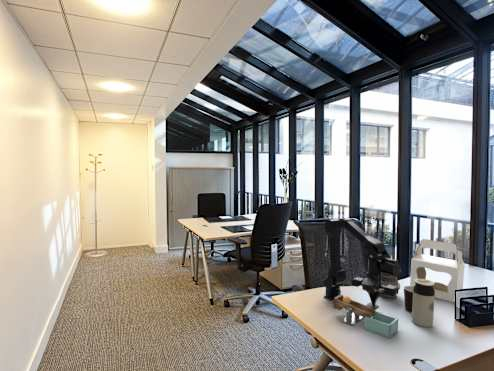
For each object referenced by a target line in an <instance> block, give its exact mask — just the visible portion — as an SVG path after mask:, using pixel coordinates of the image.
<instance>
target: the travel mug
mask: <svg viewBox="0 0 494 371" xmlns="http://www.w3.org/2000/svg"><path fill="white" fill-rule="evenodd" d="M414 281H415V286H414V287H413V304H412V313H411V322H412V323H413V324H414V325H417V326H419V327H424V328H429V327H430V328H431V327H433V325H434V311H435V297H434V296H435V290H434V288H433V286H434V281H431V280H428V279H415V280H414Z"/></svg>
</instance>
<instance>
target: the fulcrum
mask: <svg viewBox="0 0 494 371" xmlns="http://www.w3.org/2000/svg"><path fill="white" fill-rule="evenodd" d="M357 302H358V301H357ZM358 303H360V302H358ZM345 314H346V316H345V318H343V319H342V320H341V323H343V324H346V325H348V326H352V327H354V326H355V325H356V324H358V323H359V322H360V321H362V320H364V319H365V318H364V317H362V316H360V315H357V314H355V313H353V312H352V308H350V307H347V310H346V313H345Z"/></svg>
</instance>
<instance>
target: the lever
mask: <svg viewBox="0 0 494 371" xmlns="http://www.w3.org/2000/svg"><path fill="white" fill-rule="evenodd" d="M343 297H345V296H344V295H343V294H342V293H341V294H340V295H338V296H336V297H335V298H334V301H332V302H333V305H332V306H333V307H332V308H333V309H335V310H338V311H342V310H343V309H344V310H346V311H347V307H350V308H352V313H355V314H357V315H360V316H362V317H364V318H363V319H365V317H369V318H373V316H374V315H375V311H376V310H378V309H379V308H380V305H379V304H377V303H376V304H375V305H372V302H371V301H370V302H369V303H367V304H366V305H365V304H363V303H361V302H359V303H358V301H355V300H354V299H351V302H350V304H347V303H344V302H343V301H342V299H343Z"/></svg>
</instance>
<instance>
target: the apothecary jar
mask: <svg viewBox="0 0 494 371" xmlns="http://www.w3.org/2000/svg"><path fill="white" fill-rule="evenodd" d="M401 272H402V270H401V271H400V273H401ZM381 285H382V286H388V285H392V286H396V287H398V289H399V290H401V284H400V283H399V275H398V276H397V277H394V276H391V275H388V274H384V273H383V275H382V284H381ZM397 295H398V294H396V295H395V296H390V295H386V294H385V293H384V292H383V293H382V294H380V296H379V298H383V299H388V300H396V299H398V296H397Z"/></svg>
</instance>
